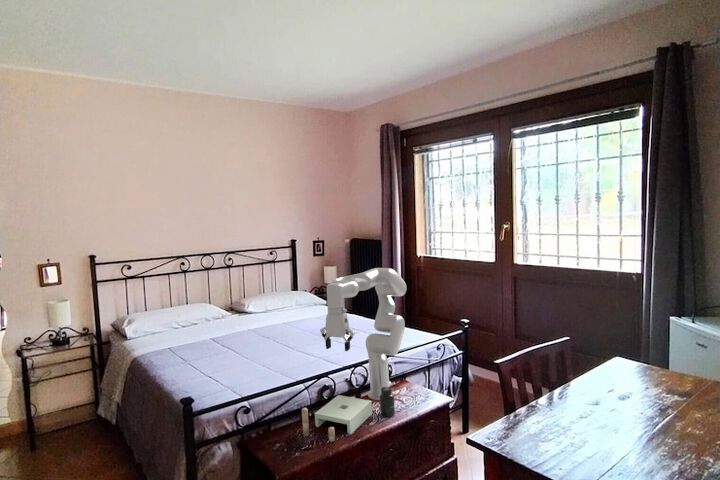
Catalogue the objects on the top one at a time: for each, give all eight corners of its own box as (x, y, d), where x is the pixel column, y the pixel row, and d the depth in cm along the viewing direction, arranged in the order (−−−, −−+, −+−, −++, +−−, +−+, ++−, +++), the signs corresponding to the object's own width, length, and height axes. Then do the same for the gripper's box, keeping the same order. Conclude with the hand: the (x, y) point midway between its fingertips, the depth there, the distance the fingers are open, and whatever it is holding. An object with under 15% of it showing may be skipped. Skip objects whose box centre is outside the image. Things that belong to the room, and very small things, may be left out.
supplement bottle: (394, 418, 195) (392, 392, 194) (379, 417, 196) (377, 391, 195) (396, 410, 201) (394, 385, 201) (381, 410, 203) (380, 385, 202)
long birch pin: (305, 432, 187) (303, 407, 186) (310, 433, 186) (308, 408, 185) (302, 434, 185) (300, 410, 184) (307, 436, 184) (305, 410, 183)
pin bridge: (339, 407, 209) (338, 395, 209) (372, 413, 200) (371, 400, 200) (315, 426, 192) (314, 413, 191) (350, 434, 183) (349, 420, 182)
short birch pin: (331, 438, 181) (330, 426, 180) (336, 439, 180) (335, 427, 179) (327, 441, 179) (327, 429, 178) (332, 442, 177) (332, 430, 177)
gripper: (357, 310, 191) (359, 348, 191) (324, 308, 199) (325, 345, 199) (349, 313, 184) (350, 353, 185) (315, 311, 192) (316, 349, 193)
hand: (337, 349), depth 192 cm, fingers open, 9 cm apart
